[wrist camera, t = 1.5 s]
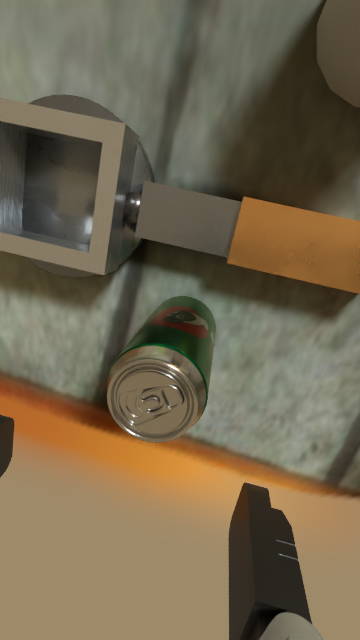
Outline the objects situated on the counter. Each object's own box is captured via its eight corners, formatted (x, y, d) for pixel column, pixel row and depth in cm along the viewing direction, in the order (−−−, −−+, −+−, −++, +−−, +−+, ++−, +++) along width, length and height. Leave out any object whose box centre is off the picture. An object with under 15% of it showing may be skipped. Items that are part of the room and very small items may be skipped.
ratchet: (409, 169, 22) (454, 157, 18) (344, 338, 25) (367, 363, 21) (5, 87, 24) (-44, 58, 19) (-2, 255, 27) (-45, 262, 23)
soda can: (143, 307, 27) (80, 371, 16) (201, 284, 26) (180, 336, 14) (167, 362, 28) (126, 460, 17) (225, 343, 27) (222, 434, 15)
